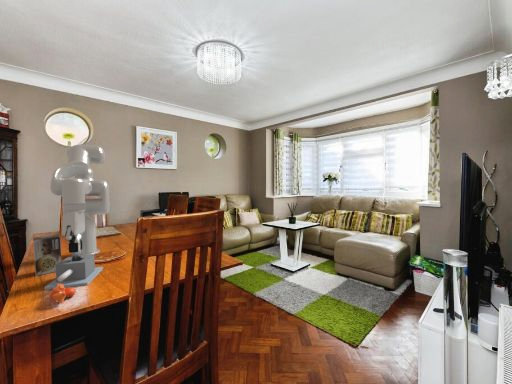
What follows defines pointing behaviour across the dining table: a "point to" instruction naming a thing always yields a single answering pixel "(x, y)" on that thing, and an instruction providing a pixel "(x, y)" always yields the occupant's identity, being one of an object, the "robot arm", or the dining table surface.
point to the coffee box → (47, 253)
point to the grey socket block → (75, 272)
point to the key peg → (77, 255)
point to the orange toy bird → (61, 293)
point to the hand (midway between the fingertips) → (75, 250)
